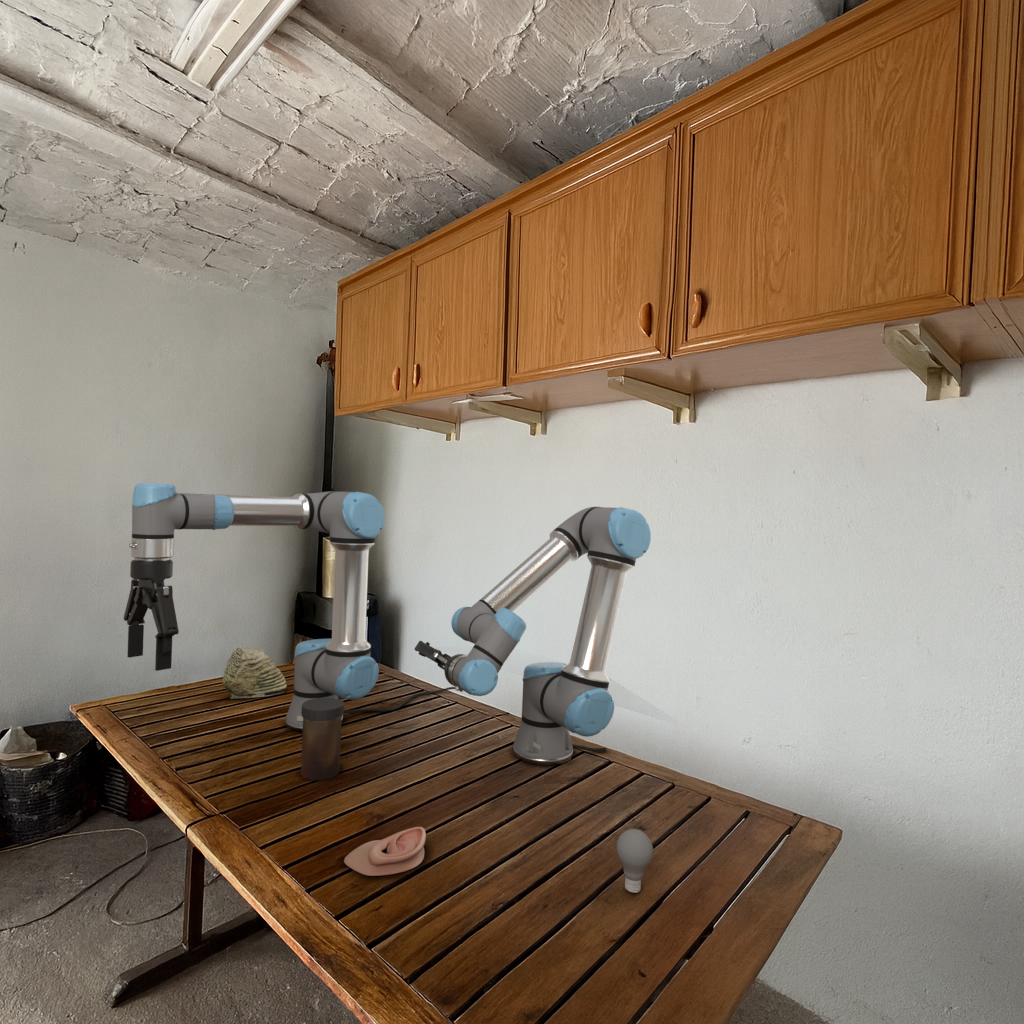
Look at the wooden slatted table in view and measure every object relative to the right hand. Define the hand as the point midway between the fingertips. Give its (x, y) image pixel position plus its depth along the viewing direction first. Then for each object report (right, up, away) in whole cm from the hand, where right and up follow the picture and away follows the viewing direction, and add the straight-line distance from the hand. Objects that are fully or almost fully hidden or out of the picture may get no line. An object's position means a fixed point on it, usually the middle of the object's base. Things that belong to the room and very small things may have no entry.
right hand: (443, 664), depth 164 cm
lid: (-26, -5, -19) cm, 32 cm away
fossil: (-63, -18, +34) cm, 73 cm away
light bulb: (+38, -24, -59) cm, 74 cm away
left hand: (-56, +9, -35) cm, 67 cm away
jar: (-26, -20, -19) cm, 38 cm away
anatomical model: (-5, -22, -52) cm, 57 cm away
